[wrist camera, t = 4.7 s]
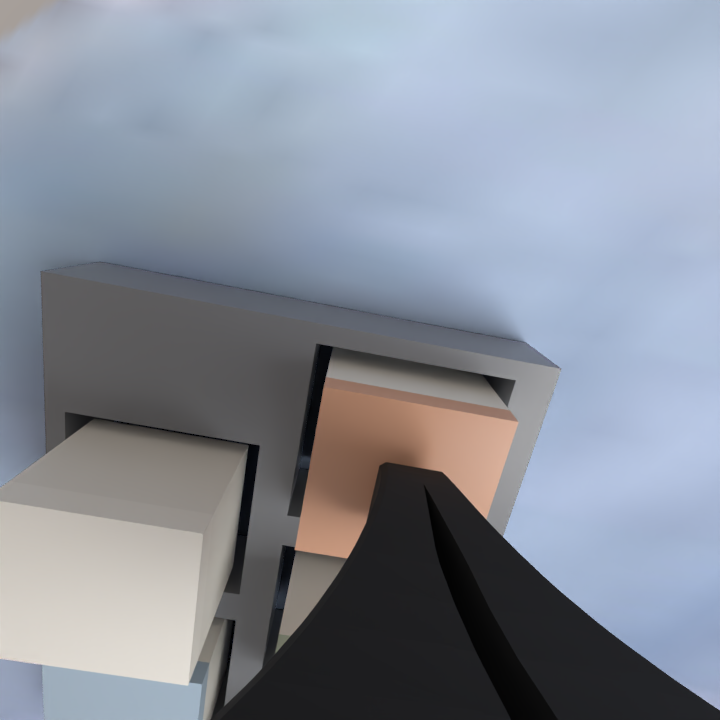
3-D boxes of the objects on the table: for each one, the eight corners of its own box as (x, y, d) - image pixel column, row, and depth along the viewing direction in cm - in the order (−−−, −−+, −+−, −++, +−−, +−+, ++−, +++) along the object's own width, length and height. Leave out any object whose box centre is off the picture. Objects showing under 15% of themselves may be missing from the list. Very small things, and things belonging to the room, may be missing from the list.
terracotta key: (441, 490, 14) (467, 577, 11) (311, 468, 14) (294, 550, 10) (477, 367, 13) (518, 422, 9) (334, 341, 13) (323, 386, 9)
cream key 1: (233, 566, 13) (187, 685, 10) (93, 544, 13) (-2, 658, 10) (248, 445, 12) (203, 533, 9) (94, 418, 12) (-15, 498, 8)
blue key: (226, 668, 16) (190, 786, 13) (113, 651, 16) (45, 766, 13) (238, 579, 15) (201, 684, 12) (115, 560, 15) (41, 661, 12)
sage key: (404, 666, 15) (417, 804, 11) (278, 648, 14) (251, 782, 11) (434, 566, 13) (459, 686, 10) (297, 543, 13) (274, 659, 10)
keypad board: (397, 750, 18) (401, 824, 16) (95, 708, 18) (55, 779, 15) (526, 343, 13) (561, 368, 11) (100, 261, 12) (41, 271, 10)
